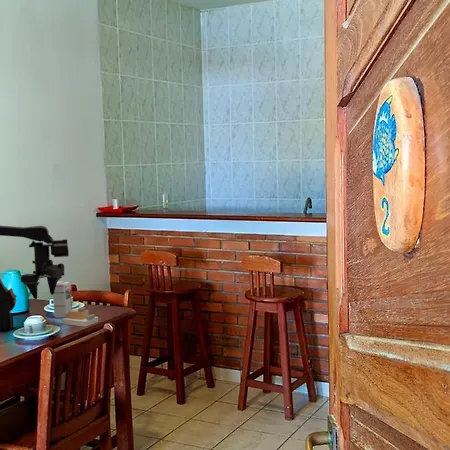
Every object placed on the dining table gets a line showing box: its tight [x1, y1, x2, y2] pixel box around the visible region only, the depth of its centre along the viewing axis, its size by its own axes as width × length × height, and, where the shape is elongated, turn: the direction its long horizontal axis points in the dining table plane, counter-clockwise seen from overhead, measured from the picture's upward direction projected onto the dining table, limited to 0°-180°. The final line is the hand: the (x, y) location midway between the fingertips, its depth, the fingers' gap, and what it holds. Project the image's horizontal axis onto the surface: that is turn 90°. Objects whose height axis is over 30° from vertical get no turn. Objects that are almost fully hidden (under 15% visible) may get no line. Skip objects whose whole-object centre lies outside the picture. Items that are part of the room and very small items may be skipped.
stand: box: [61, 313, 99, 327], centre depth 252 cm, size 8×12×4 cm, turn 63°
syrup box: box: [52, 280, 73, 319], centre depth 265 cm, size 6×6×14 cm
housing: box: [68, 306, 90, 320], centre depth 252 cm, size 7×4×4 cm, turn 63°
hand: (44, 296), depth 248 cm, fingers open, 9 cm apart
